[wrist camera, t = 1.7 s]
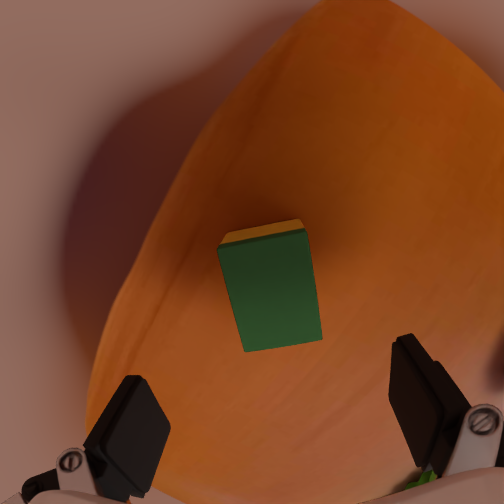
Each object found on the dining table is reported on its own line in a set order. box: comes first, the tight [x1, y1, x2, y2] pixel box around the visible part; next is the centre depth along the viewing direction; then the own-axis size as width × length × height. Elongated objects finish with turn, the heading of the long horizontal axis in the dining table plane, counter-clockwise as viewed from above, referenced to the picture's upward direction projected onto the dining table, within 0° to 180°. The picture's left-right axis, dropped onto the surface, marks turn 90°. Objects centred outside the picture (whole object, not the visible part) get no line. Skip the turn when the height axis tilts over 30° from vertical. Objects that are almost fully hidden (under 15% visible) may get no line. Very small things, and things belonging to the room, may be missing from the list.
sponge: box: [217, 219, 322, 352], centre depth 18 cm, size 7×5×4 cm
